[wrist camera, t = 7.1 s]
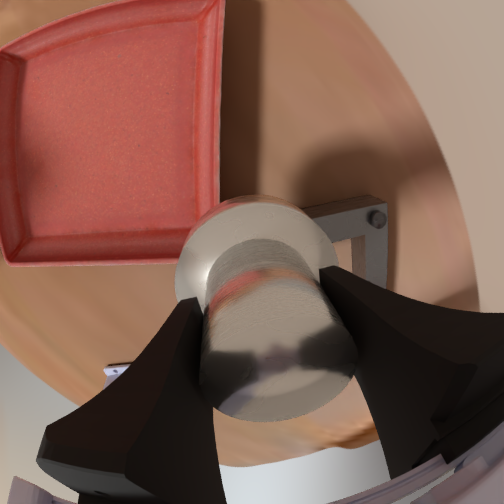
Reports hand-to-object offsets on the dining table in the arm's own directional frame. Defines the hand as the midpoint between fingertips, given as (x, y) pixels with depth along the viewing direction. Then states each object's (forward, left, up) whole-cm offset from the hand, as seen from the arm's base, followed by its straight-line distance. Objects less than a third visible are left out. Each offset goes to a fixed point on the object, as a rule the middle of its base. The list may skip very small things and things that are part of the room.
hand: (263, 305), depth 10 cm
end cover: (0, 0, -3) cm, 4 cm away
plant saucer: (-9, +9, -11) cm, 17 cm away
